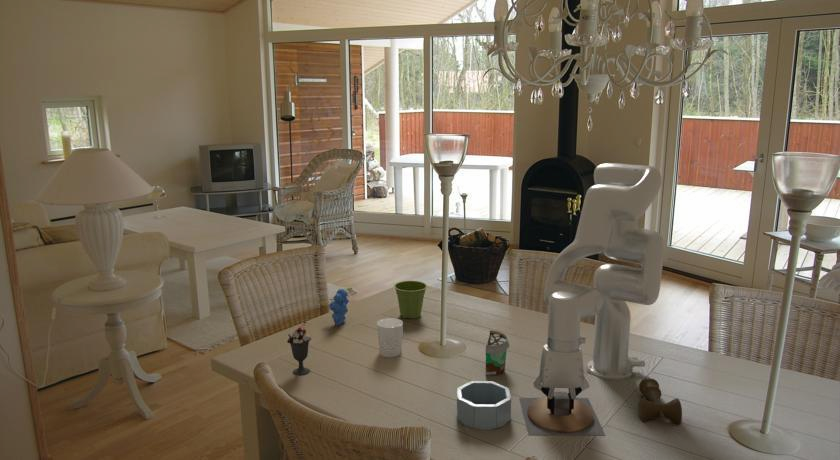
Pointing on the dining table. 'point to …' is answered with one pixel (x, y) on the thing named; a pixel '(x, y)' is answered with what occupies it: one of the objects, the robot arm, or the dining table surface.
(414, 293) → the plant pot
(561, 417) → the lid
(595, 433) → the mat
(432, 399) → the dining table surface
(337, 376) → the dining table surface
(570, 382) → the robot arm
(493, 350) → the food container
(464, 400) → the bowl
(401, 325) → the white cup
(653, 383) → the kendama
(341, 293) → the grapes
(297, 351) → the sundae
